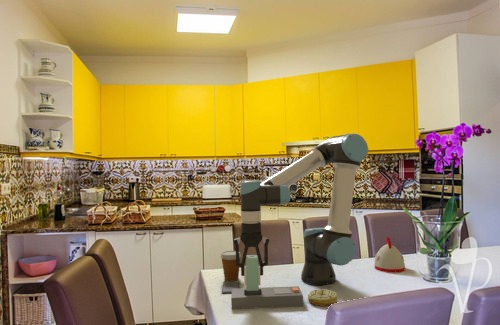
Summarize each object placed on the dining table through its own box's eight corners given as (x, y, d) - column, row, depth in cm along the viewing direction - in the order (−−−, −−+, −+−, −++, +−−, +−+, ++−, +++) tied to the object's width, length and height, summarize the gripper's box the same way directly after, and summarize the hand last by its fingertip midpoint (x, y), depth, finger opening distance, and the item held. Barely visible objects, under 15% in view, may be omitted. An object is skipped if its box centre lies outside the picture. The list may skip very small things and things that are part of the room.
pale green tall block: (258, 286, 137) (257, 254, 137) (258, 290, 132) (258, 257, 133) (246, 286, 137) (245, 255, 137) (246, 290, 132) (245, 257, 133)
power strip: (298, 296, 140) (298, 284, 140) (303, 306, 130) (302, 293, 130) (232, 299, 139) (231, 286, 139) (231, 309, 129) (231, 295, 129)
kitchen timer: (401, 265, 181) (400, 235, 181) (408, 273, 167) (407, 240, 168) (372, 264, 183) (371, 235, 184) (377, 272, 170) (376, 240, 170)
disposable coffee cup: (239, 282, 160) (238, 255, 160) (218, 281, 162) (217, 255, 162) (243, 276, 169) (243, 250, 169) (224, 275, 171) (223, 250, 171)
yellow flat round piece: (310, 296, 141) (310, 286, 141) (338, 298, 137) (338, 288, 138) (305, 305, 131) (305, 295, 131) (335, 308, 128) (335, 298, 128)
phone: (239, 284, 159) (239, 281, 159) (238, 294, 146) (238, 291, 146) (223, 285, 159) (223, 282, 159) (221, 295, 146) (221, 292, 146)
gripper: (273, 220, 139) (274, 280, 139) (228, 221, 139) (229, 281, 138) (275, 222, 132) (276, 286, 131) (227, 223, 131) (228, 288, 131)
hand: (252, 284), depth 135 cm, fingers closed on pale green tall block, 4 cm apart
